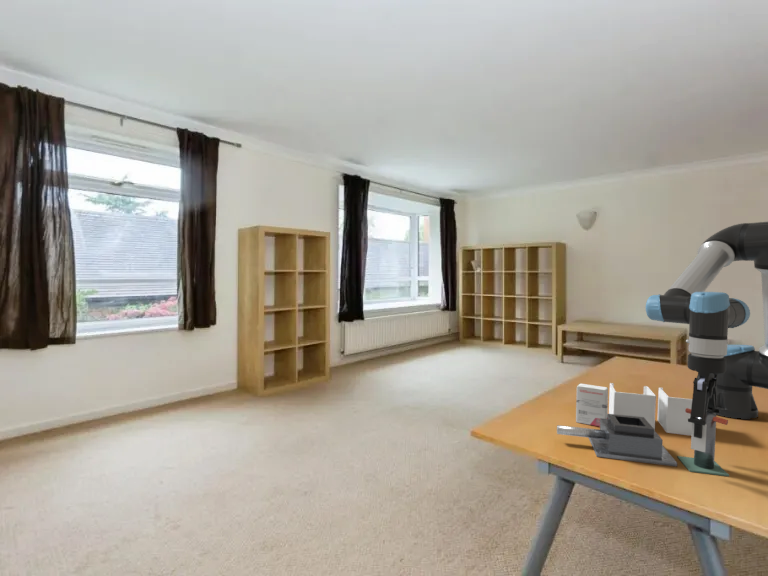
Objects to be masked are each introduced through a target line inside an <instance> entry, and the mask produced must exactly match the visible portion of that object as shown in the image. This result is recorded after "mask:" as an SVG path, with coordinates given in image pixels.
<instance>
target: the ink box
mask: <svg viewBox="0 0 768 576" xmlns="http://www.w3.org/2000/svg"><path fill="white" fill-rule="evenodd" d="M575 396H576V399H575V400H576V402H575V422H576V423H579V424H585V425H588V426H595V427H599V428H600V418H602V419H607V415H608V414H609V388H608V387H606V386H599V385H593V384H586V383H579V384H578V385H577V386H576V395H575Z"/></svg>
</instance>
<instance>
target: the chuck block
mask: <svg viewBox="0 0 768 576" xmlns="http://www.w3.org/2000/svg"><path fill="white" fill-rule="evenodd" d="M556 434H557V435H562V436H563V435H564V436H570V437H571V436H572V437H578V438H579V437H581V438H588V440H589V442H590V445H591V446H592V449H593V451H594V453H595V456H596V457H597V458H605V459H612V460H620V461H621V460H622V461H628V462H637V463H643V464H644V463H646V464H650V465H651V464H652V465H653V464H654V465H660V466H661V465H662V466H670V467H678V462H677V461H676V459H675V458H674V457H673V456H672V454H670V452H669V451H668V450H667V449H666V448H665V447H664V444H663V443H664V442H663V438H662V437H661V436H660V435H659V434H658V433H657V431H656V430H655V431H654V428H653V427H652V426H651V425H650V424H649V423H648V422H647V420H646V419H645V418H644V417H636V416H626V415H615V414H609V413H608V415H607V419H602V418H600V427H599V429H596V428H589V427H588V428H587V427H580V426H579V427H578V426H569V425H568V426H567V425H562V424H561V425H559V424H558V425H557V426H556Z"/></svg>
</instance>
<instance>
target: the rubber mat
mask: <svg viewBox="0 0 768 576" xmlns="http://www.w3.org/2000/svg"><path fill="white" fill-rule="evenodd" d="M676 457H677V459H678V460H679V461H680V462H681V464H682V465H683V466H684V467H685V469H687V470H688V472H690V473H691V472H692V473H698V474H707V475H714V476H715V475H716V476H722V477H729V478H730V474H729V473H728V472H727V471H726V470H725V469H724V468H723V467H721V466H720V465H719V464H718V463H717V462H716V461H715V460H714V469H704V468H701V467H698V466H696V465H695V464H694V457H690V456H681V455H677V456H676Z"/></svg>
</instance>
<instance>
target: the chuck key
mask: <svg viewBox="0 0 768 576" xmlns="http://www.w3.org/2000/svg"><path fill="white" fill-rule="evenodd" d="M685 412H686V413H689V414H691V409H689V408H686V410H685ZM696 418H698V417H696ZM699 419H700V418H699ZM717 423H719V424H722V425H724V426H727V425H728V424H729V420H728V419H726V418H722V417H718V416H717V415H715V414H713V413H710V412H707V415H706V424H707V427H706V449H705V452H701V451H698V450H694V449H693V451H694V452H693V458H694V464H695V465H696V466H698V467H701V468H704V469H714V461H715V452H716V436H717V435H716V434H717V433H716V430H717Z"/></svg>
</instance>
